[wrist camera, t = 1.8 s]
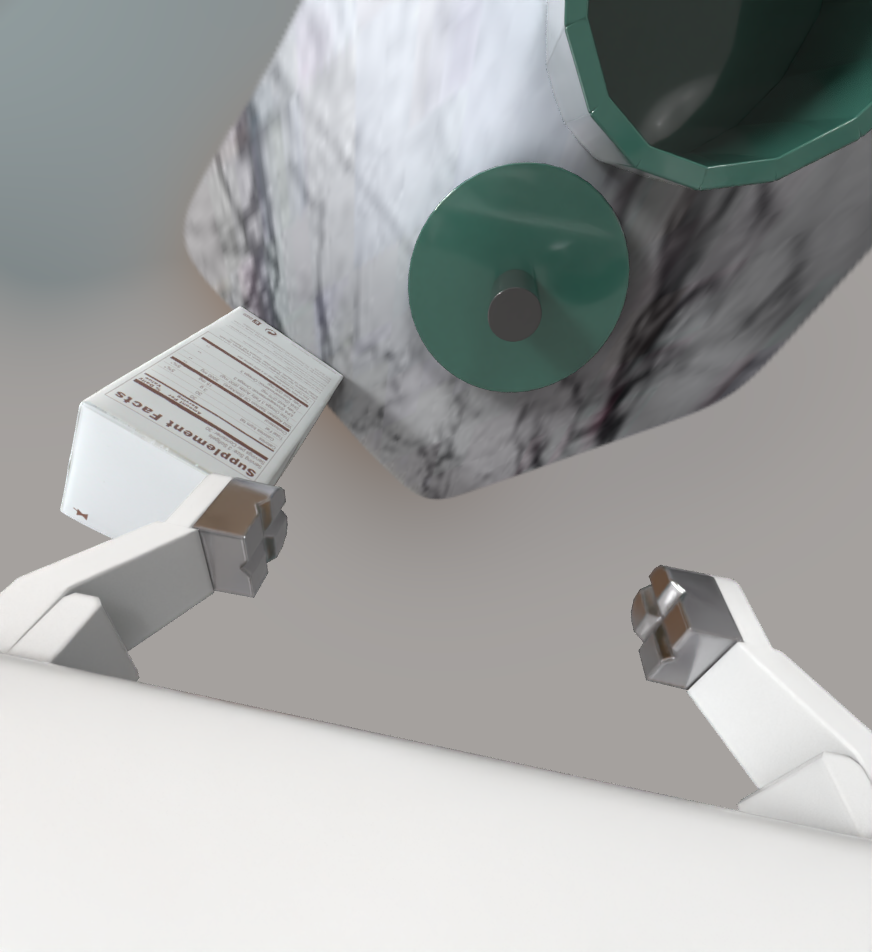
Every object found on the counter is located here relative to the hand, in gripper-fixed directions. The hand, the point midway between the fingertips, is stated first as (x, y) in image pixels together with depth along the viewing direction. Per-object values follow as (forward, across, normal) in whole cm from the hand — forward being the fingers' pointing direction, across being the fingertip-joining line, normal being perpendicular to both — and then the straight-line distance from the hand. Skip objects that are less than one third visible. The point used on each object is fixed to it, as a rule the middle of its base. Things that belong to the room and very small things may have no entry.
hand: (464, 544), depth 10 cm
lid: (+18, -1, -1) cm, 18 cm away
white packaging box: (+18, +13, +8) cm, 24 cm away
